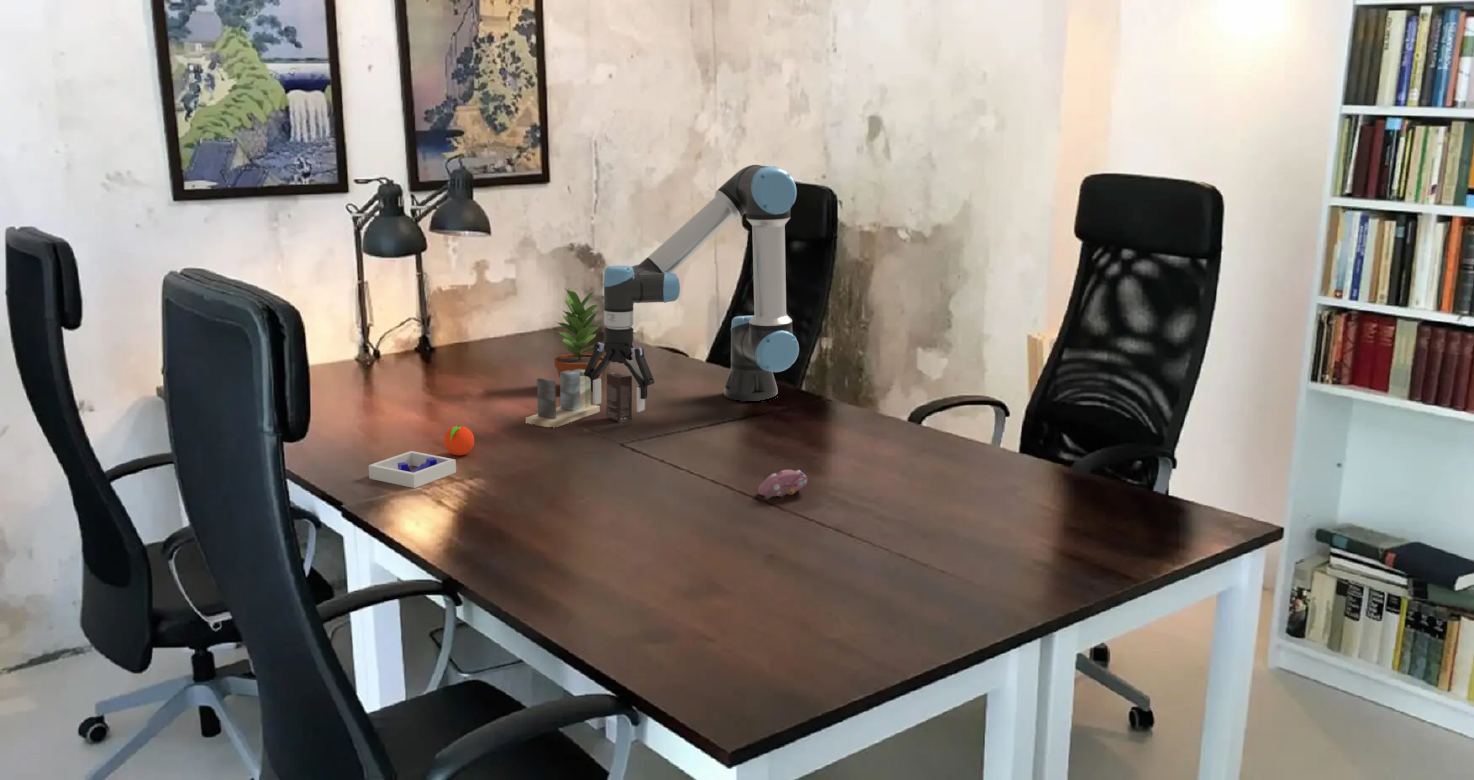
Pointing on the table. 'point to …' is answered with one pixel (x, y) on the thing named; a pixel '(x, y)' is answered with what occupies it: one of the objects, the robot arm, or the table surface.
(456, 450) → the clementine
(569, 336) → the potted plant
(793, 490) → the video game controller
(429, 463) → the cable holder
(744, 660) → the table surface
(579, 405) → the book rack
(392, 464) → the desk organiser frame
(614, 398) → the box
